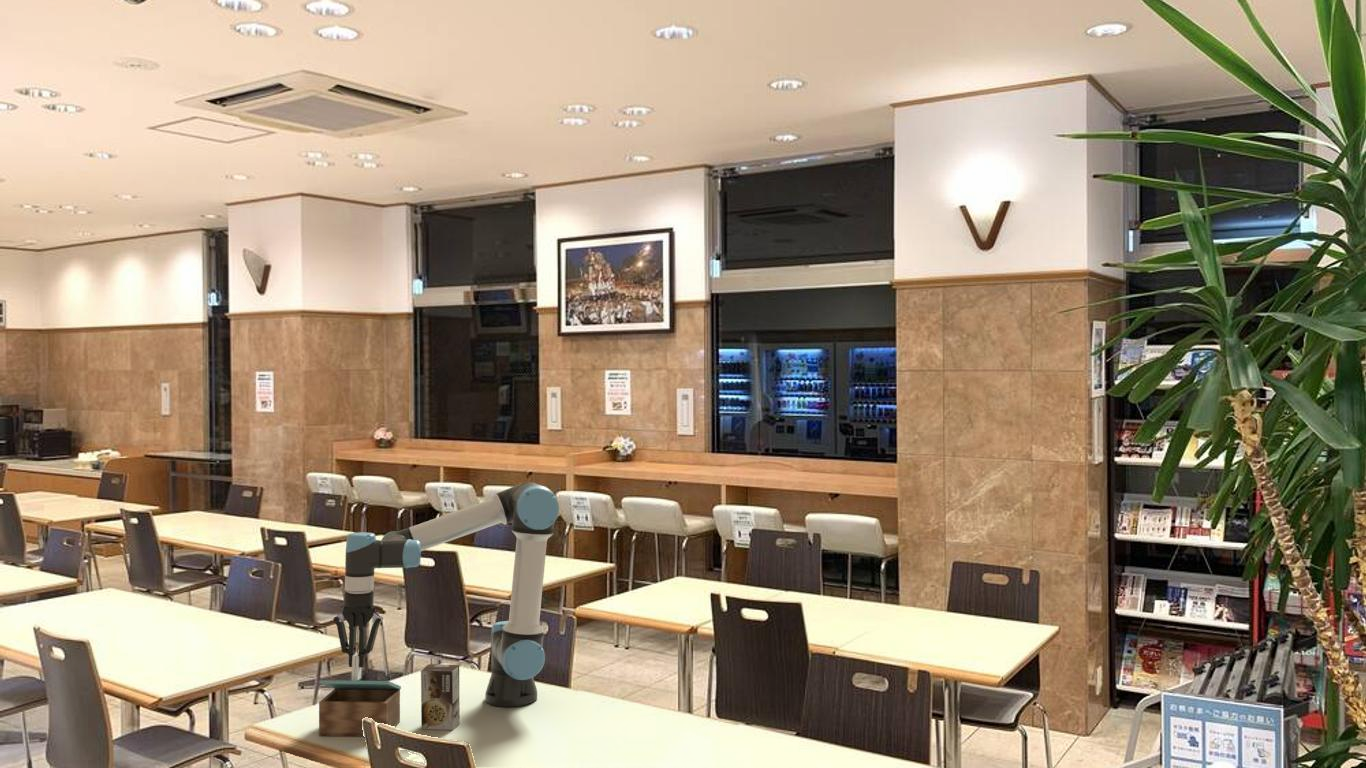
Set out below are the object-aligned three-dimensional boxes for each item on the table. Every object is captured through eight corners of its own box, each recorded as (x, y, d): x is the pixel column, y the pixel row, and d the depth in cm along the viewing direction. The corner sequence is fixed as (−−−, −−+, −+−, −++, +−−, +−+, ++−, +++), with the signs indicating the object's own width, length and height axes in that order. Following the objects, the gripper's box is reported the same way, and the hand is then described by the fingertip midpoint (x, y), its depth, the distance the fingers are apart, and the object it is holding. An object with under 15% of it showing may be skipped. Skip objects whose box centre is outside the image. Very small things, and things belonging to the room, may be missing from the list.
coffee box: (460, 722, 288) (460, 664, 288) (453, 730, 282) (453, 670, 282) (428, 721, 289) (428, 663, 289) (420, 729, 283) (420, 669, 283)
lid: (400, 689, 289) (400, 686, 289) (388, 684, 277) (388, 681, 278) (334, 688, 289) (334, 685, 289) (319, 683, 278) (319, 680, 278)
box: (399, 721, 289) (399, 689, 289) (386, 736, 277) (386, 702, 277) (334, 721, 289) (335, 688, 289) (319, 736, 277) (319, 702, 277)
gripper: (387, 589, 285) (385, 676, 285) (339, 587, 285) (336, 674, 285) (379, 594, 278) (376, 683, 277) (329, 592, 278) (326, 682, 278)
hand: (356, 679), depth 281 cm, fingers closed
